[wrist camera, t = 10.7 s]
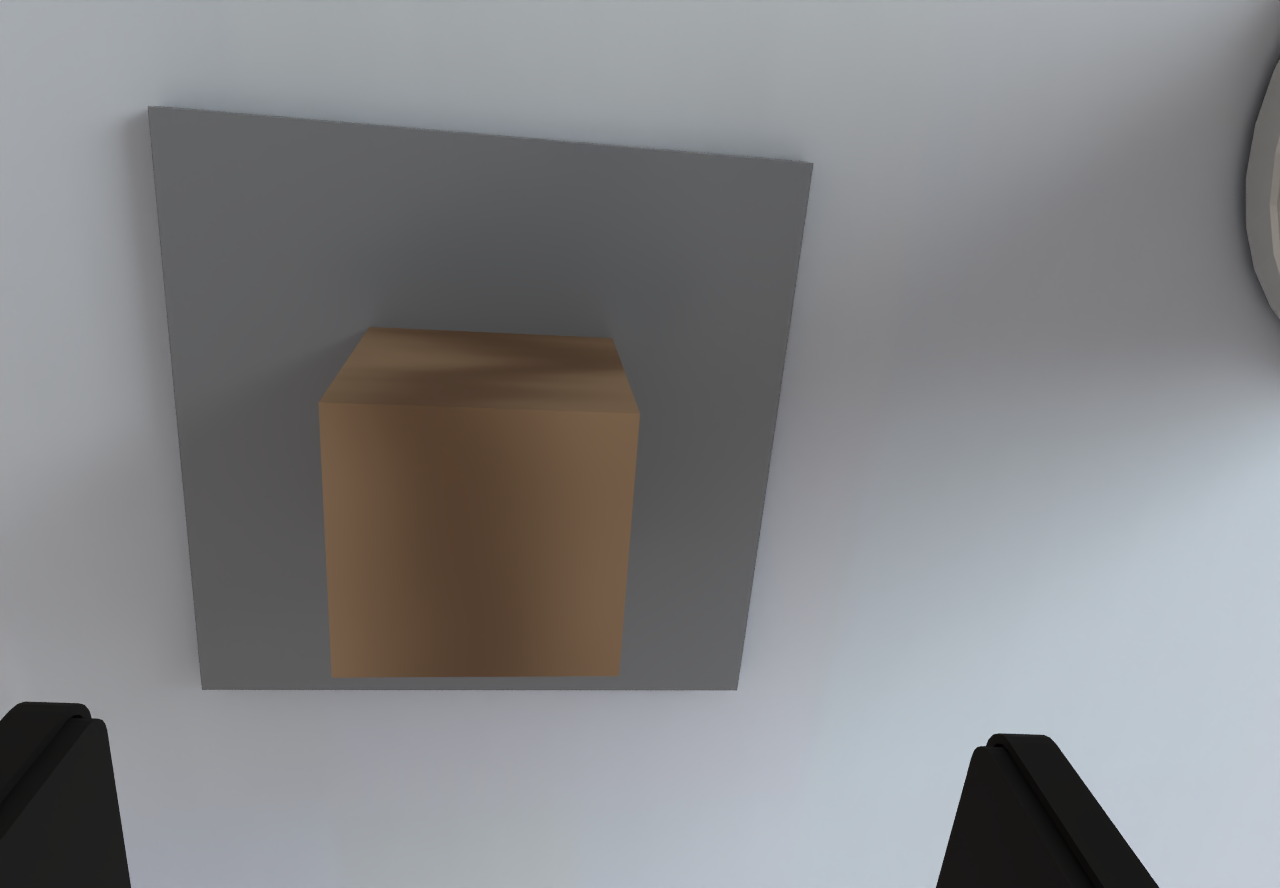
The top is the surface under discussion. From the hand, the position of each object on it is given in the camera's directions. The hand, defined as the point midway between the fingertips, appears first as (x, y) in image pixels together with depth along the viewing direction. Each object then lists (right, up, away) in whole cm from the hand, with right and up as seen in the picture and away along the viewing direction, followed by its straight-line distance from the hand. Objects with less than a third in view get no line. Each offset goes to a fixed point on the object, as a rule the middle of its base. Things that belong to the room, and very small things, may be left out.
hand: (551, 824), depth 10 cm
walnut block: (-3, +4, +12) cm, 13 cm away
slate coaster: (-3, +4, +13) cm, 14 cm away
